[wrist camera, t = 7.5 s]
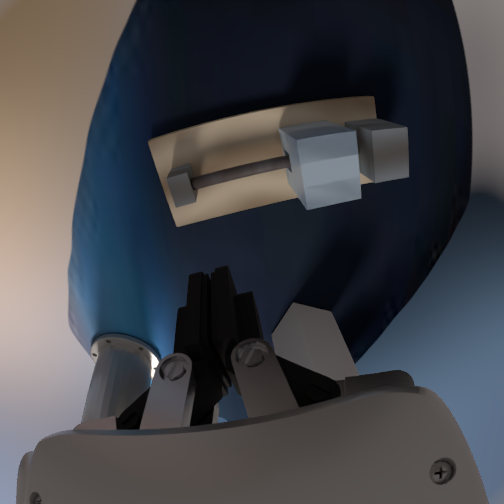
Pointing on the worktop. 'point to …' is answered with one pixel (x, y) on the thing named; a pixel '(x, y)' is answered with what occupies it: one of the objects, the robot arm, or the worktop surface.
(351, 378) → the robot arm
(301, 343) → the milk carton
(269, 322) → the worktop surface
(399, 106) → the worktop surface
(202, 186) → the slider mechanism
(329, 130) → the sleeve
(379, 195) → the worktop surface
